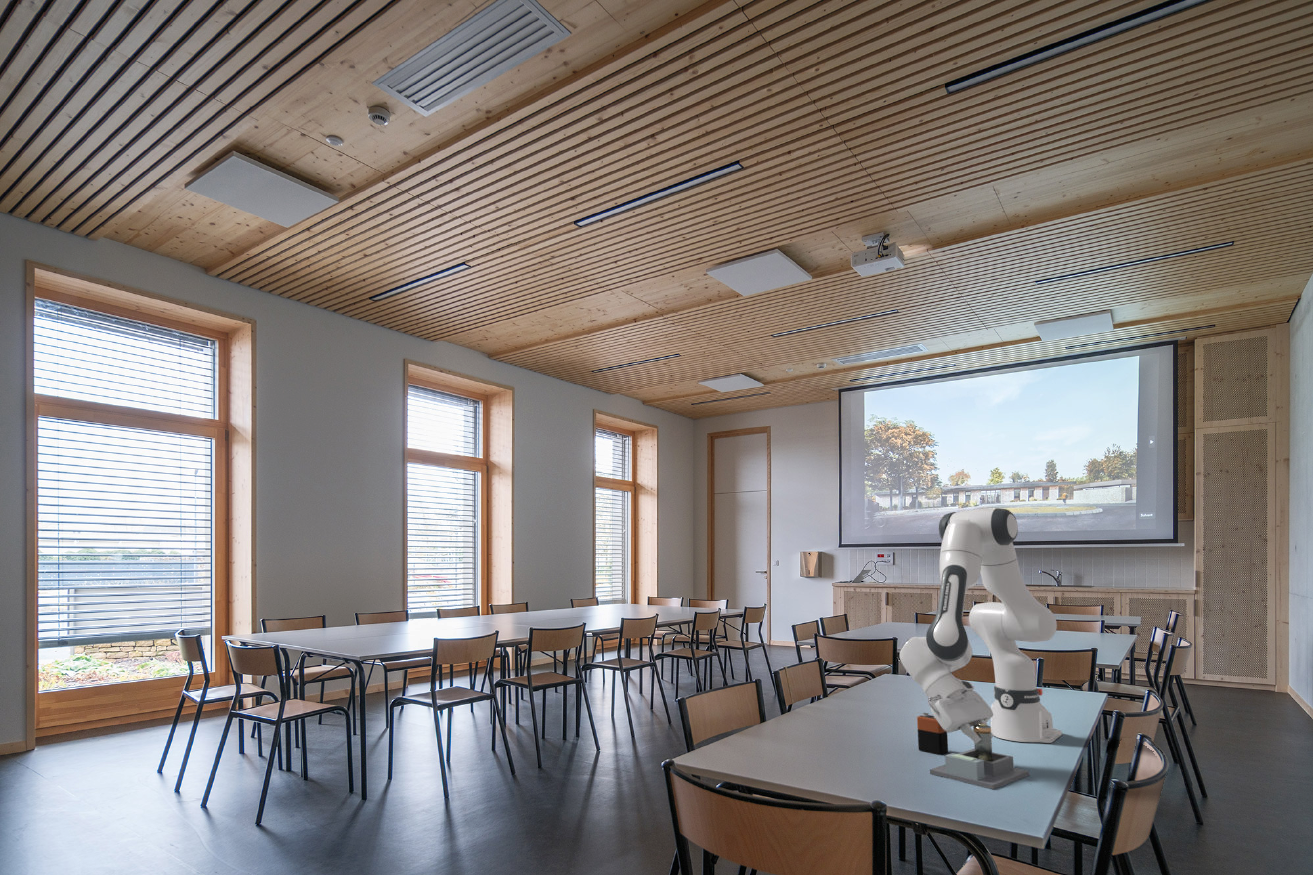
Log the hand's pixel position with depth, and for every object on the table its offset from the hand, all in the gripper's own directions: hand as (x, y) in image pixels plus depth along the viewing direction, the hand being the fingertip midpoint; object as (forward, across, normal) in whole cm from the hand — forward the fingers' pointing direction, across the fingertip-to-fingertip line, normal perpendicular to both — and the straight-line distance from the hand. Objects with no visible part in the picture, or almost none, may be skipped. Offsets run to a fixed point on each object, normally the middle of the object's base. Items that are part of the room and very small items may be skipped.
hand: (985, 740), depth 189 cm
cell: (+3, 0, +4) cm, 5 cm away
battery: (-8, +8, +20) cm, 23 cm away
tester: (+5, -3, +6) cm, 8 cm away
